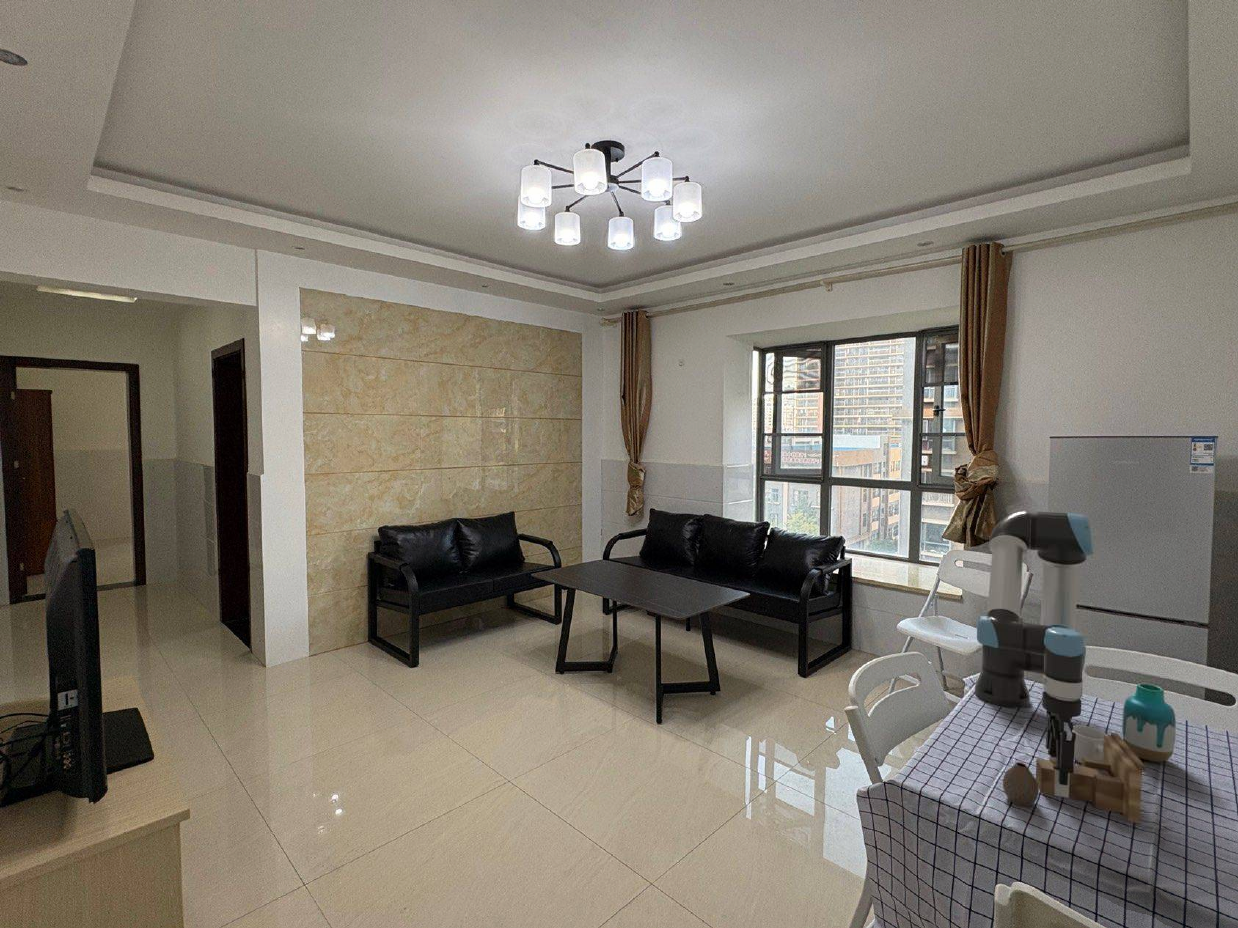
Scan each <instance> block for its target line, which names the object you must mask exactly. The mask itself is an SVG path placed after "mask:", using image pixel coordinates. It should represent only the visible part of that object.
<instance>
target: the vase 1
mask: <svg viewBox="0 0 1238 928" xmlns="http://www.w3.org/2000/svg"><path fill="white" fill-rule="evenodd" d="M1002 786H1003V790H1004V791H1003V792H1004V793H1005V794H1004V795H1006V797H1007V798H1008V799H1009V801H1010V802H1011V803H1013V804H1015V805H1017V804H1018V805H1017V806H1020V807H1029V806H1031V805H1034V804H1035V802H1037V799H1038V797H1039V791H1040V790H1039V788H1038V784H1037V781H1036V776H1035V775H1033V774H1032V772H1031V771H1030V769H1029V767H1028V765H1027V764H1026V763H1024V762H1019V761H1018V762H1015V763H1014V764H1013V765H1012V766H1011V767H1009V768H1008V769H1007V770H1006V771H1005V772H1004V774H1003V778H1002Z"/></svg>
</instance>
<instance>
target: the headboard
mask: <svg viewBox="0 0 1238 928" xmlns="http://www.w3.org/2000/svg"><path fill="white" fill-rule="evenodd" d="M1140 759H1141V758H1139V757H1137V756H1136V755H1135V754H1134V752H1133V751H1132V750H1131V749H1130V748H1129V747H1128V745H1127V744H1126V743H1125V742H1124V741H1123V737H1121V736H1120V735H1119V733H1117V732H1112V731H1111V732H1110V736H1109V735H1108V736H1105V735H1104V742H1103V760H1097V759H1091V758H1085V757H1082V763H1081V766H1084V767H1089V768H1095V769H1102V770H1106V771H1107V772H1108V773H1109V775H1110V776H1111V777H1108V776H1103V775H1097V774H1094V786H1093V802H1092V804H1093V806H1094V808H1095V809H1098V810H1102V811H1103V810H1104V811H1107V812H1108V811H1109V812H1113V813H1118V814H1123V816H1124V818H1125V819H1126V820H1127V822H1130V823H1135V824H1140V823H1141V822H1140V821H1141V805H1142V804H1141V802H1142V783H1143V782H1142V781H1143V780H1142V777H1143V771H1144V772H1146V771H1147V769H1146V768H1147V767H1146V766H1147V765H1145V764H1144V763H1143V762H1142V760H1140Z"/></svg>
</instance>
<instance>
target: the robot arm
mask: <svg viewBox="0 0 1238 928" xmlns="http://www.w3.org/2000/svg"><path fill="white" fill-rule="evenodd" d="M988 540H989V541H988V549H989V550H990V551H991V562H990V563H991V565H990V576H989V588H988V598H987V599H988V600H987V611H986V612H987V613H986V615H985V616H984V615H983V616H982V615H980V616H979V617H978V618H977V625H976V641H977V642H978V643H979V644H980V645H982V656H981V657H982V658H981V672H980V674H979V676H978V678H977V680H976V682H975V685H974V694H975V695H976V697H978V698H979V699H981V700H983V701H984V702H988V703H989V704H990V703H991V704H994V705H996V706H1001V707H1007V708H1017V709H1019V708H1026V707H1028V706H1029V705H1030V702H1031V701H1030V700H1031V696H1030V693H1029V689H1028V686H1027V683H1026V681H1025V672H1029V673H1030V672H1031V673H1036V674H1041V675H1043V677H1041V678H1040V682H1041V683H1042V689H1043V691H1042V698H1041V706H1042V708H1044V710H1046V711H1045V713H1046V737H1045V738H1046V740H1045V742H1046V743H1045V748H1046V750H1047V755H1048V760H1049V761H1055V762H1057V766H1053V769H1055V780H1054V797H1055V796H1056V797H1061V798H1066V799H1069V778H1070V773H1073V772H1074V765H1075V758H1074V748H1075V739H1076V733H1074V732H1072V730H1073V726H1074V723H1073V721H1072V720H1071V719H1072V718H1076V717H1080V716H1081V714H1082V700H1081V698H1083V683H1084V682H1083V671H1084V668H1085V662H1086V660H1085V659H1086V656H1087V655H1086V654H1087V646H1086V643H1085V642H1084V635H1083V634H1082V633H1081V632H1078V631H1076V617H1077V616H1076V615H1077V602H1078V601H1077V600H1078V585H1079V571H1080V570H1079V569H1080V565H1082V564H1084V563H1085V562H1086V561H1087V557H1089V556H1093V554H1094V552H1093V551H1094V548H1093V541H1092V531H1091V525H1090V519H1089V518H1088V516H1087V515H1085V514H1079V513H1071V512H1066V513H1065V512H1052V511H1035V510H1034V511H1033V510H1020V511H1016V512H1014V513H1011V514H1009V515H1007V516H1005V517H1004V518H1003V519H1001V520H1000V521H998V523H997V524H996V526H994V528H993V529H992V531H991V532H990V536H989V538H988ZM1028 550H1029V551H1037V555H1036V556H1038V558H1039V559H1040V560H1041V561H1042V578H1041V579H1042V584H1041V602H1040V603H1041V604H1040V605H1041V606H1040V608H1041V609H1040V623H1039V624H1038V623H1037V624H1036V623H1029V622H1023V621H1021V608H1022V607H1021V605H1022V604H1021V602H1022V586H1023V585H1022V582H1023V561H1024V560H1023V558H1024V556H1025V555H1026V553H1028Z"/></svg>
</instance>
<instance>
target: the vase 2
mask: <svg viewBox="0 0 1238 928" xmlns="http://www.w3.org/2000/svg"><path fill="white" fill-rule="evenodd" d="M1164 691H1165V690H1164V689H1163V687H1161V686H1158V685H1155V684H1151V683H1146V682H1145V683H1144V682H1143V683H1141V682H1139V683H1137V684H1136V689H1135V694H1134V695H1132V696H1131V695H1130V696H1129V697H1127V698H1126V699H1125V701H1124V705H1123V709H1122V721H1121V729H1122V730H1121V731H1122V734H1121V735H1122V740H1123V741H1124V742H1125V743H1126V744H1127V745H1128V747H1129V748H1130V749H1131V750H1132V751H1133V752H1134V754H1135V755H1136V756H1137V757H1138V758H1139V759H1143V760H1145V761H1149V762H1154V763H1155V762H1157V763H1160V762H1165V761H1168V760H1169V759H1170V758H1171V757H1172V756H1173V753H1174V749H1175V744H1176V733H1177V732H1176V729H1177V728H1176V727H1177V722H1176V714H1175V711H1174V708H1173V707H1172V706H1171V705H1169V704H1168V703H1166V701H1165V692H1164Z"/></svg>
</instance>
